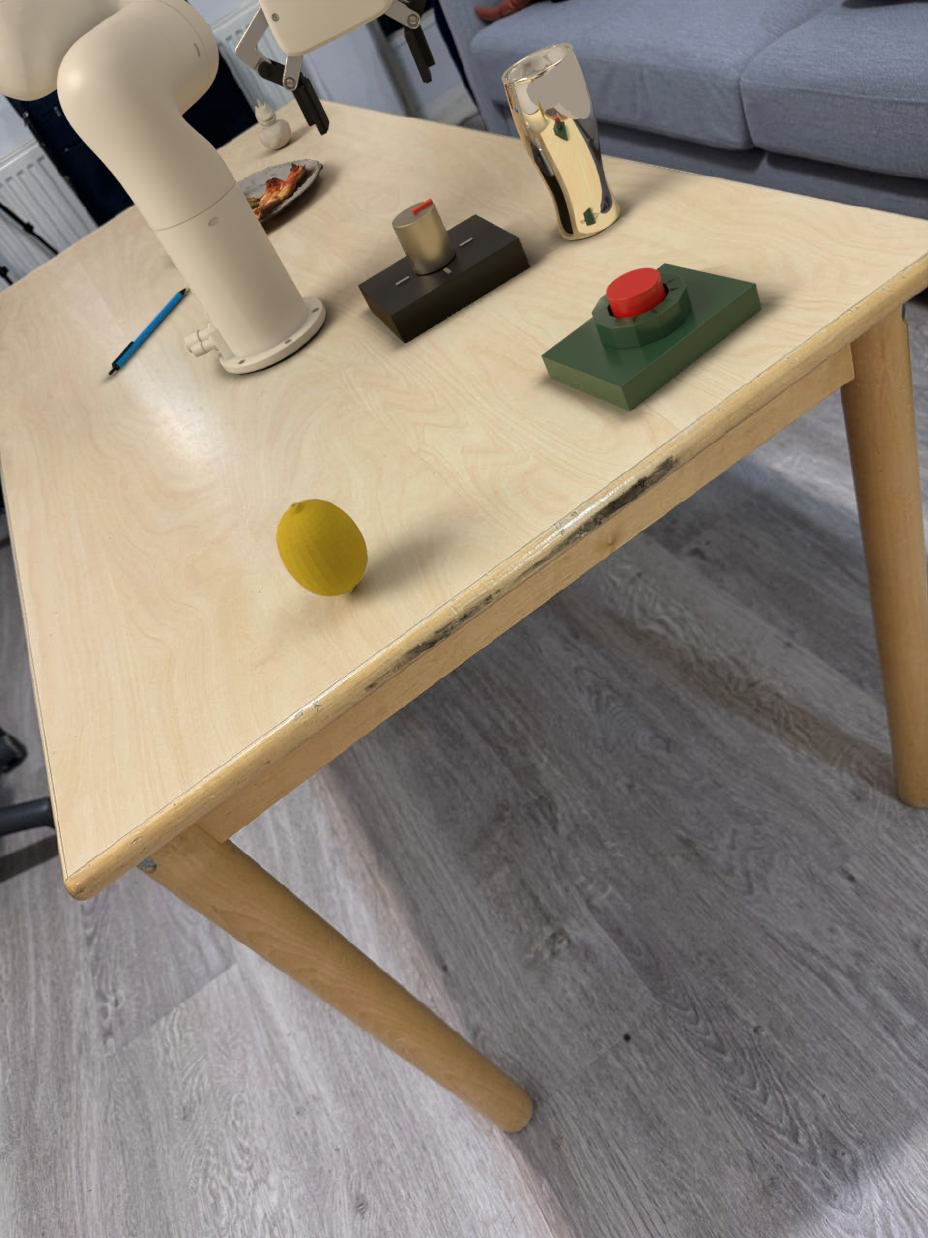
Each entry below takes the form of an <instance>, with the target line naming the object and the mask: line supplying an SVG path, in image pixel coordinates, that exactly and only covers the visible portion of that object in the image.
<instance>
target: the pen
mask: <svg viewBox="0 0 928 1238" xmlns="http://www.w3.org/2000/svg"><path fill="white" fill-rule="evenodd" d="M186 291H187V287H185V288H183V289H181V290H179V291H178V292H176V293H175V294H174V296H172V298H171V299H170V300H169V301H168V302H167V304H165V306H163V307H162V309H161V310H160V311H159V312H158V314H157V315H156V316H154V317H153V319H152V320H151V321H150V323H148V325H147V326H146V327H145V328H144V329H143V330H142V331H141V333H139V335H138V336H137V337H136V338H135V339H134V340H132V341H130V342H128V344H127V345H126V347H125V348H124V349H123V350H122V351H121V352H120V353H119V355H117V357H116V358H115V359H114V360H113V361H112V363H111V370H110V371H109V372H108V373H107V374H108V375H109V376H113V374H114V373H115V372H117V371H118V372H119V371H120V369H121V368H122V367H123V366H124V365H125V364H126V363H127V362H128V360H129V359H131V357H132V356H133V355H134V353H135V352H136V351H137V350H138V349H139V348H140V347H141V346H142V345H143V343H144V342H145V341H146V340H147V339H148V338H149V336H150V335H151V334H152V333H153V332H154V331H155V330H156V329H157V328H158V326H159V325H160V324H161V323H162V321H163V320H165V318H166V317H167V316H168V315H169V314H170V312H171V311H173V309H174V308H175V307H176V306H177V305H178V304H179V302H181V300H182V299H183V298H184V296H185V293H186Z"/></svg>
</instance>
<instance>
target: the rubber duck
mask: <svg viewBox="0 0 928 1238" xmlns="http://www.w3.org/2000/svg"><path fill="white" fill-rule="evenodd" d="M256 100H257V104H258V106H257V105H255V106H254V109H255V110H254V111H255V118H256V120H257V122H258V124H259V125H260V126H262V128H261V130H260V131H259V132H258V135H257V136H258V140H259V142H260V143H261V144H262V146H264V147H265V148H267V149H271V150H279V149H282V148H284V147H285V146H286V145H287V144H288V143H289V142H290V140H291V135H292V128H291V126H290V124H289V122H288V121H287V120H285V119H283V118H281V119H277V114H276V112H275V110H274V108H273V107H272V106H271V105H269V104H268V103H267V102H266V101H265V100H263V101H260V99H259V98H256ZM262 102H263V103H262Z"/></svg>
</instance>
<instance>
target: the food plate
mask: <svg viewBox="0 0 928 1238" xmlns="http://www.w3.org/2000/svg"><path fill="white" fill-rule="evenodd" d="M323 169H324V164H322V163H321V162H320V161H318V160H313V159H311V158H303V159H301V160H300V159H298V160H293V161H287V162H284V163H279V164H275V165H272V166H267V167H266V168H263V169H261V170H257V171H256V172H253V173H251V174H249V175H248V176H245V177H243V178H242V179H240V180H238V181H236V182H237V183H238V185H239V187H240V189H241V190H242V192H243V194H244V196H245V198H246V199H247V201H248V203H249V205H250V206H251V208H252V210H253V212H254V213H255V215H256V217H257V219H258V221H259V222H260V224H261V225H263V224H264V223H266V222H267V221H268V220H270V219H271V218H274V217H276V216H277V215H280V213H282V212H283V211H284V210H285V209H286V208H287V207H289V206H290V205H291V204H292V203H293V202H294V201H295V200H297V199H298V198H299V197H300V196H301V195H303V194H304V193H305V192H307V191H308V190H311V187H312V186H313V185H314V184H315V182H317V180H318V178H319V176H320V173H321V171H322V170H323Z"/></svg>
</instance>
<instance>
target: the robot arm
mask: <svg viewBox="0 0 928 1238" xmlns="http://www.w3.org/2000/svg"><path fill="white" fill-rule="evenodd" d="M427 1H428V0H258V3H259V7H258V9H257V11H256V13H255V14H254V16H253V18H252V19H251V21H250V23H248V26H247V27H246V29H245V30H244V33H243V34H242V36H241V37H240V39H239V41H238V43H237V45H236V47H235V48H234V54H235V56H236V58H238V59H239V60H240V61H241V62H242V63H244V65H246V66H247V67H248V68H250V69H251V70H252V71H254V72H256V73H257V74H258V76H259V77H260V78H262V79H263V80H266V81H268V82H271V83H273V84H274V85H275V84H276V85H278V86H281V87H283V88H284V89H285V90H286V91H288V92H291V93H292V94H293V97H294V99H295V102H296V103H297V106H298V107H299V109H300V111H301V113H302V115H303V117H304V119H305V121H306V123H307V125H308V126H309V127H310V128H311V127H312V126H314V125H315V127H316V129H317V131H318V133H319V135H320V136H321V137H322V136H325V135H327V133H328V131H329V130H330V129H329V127H330V119H329V117H328V115H327V112H326V111H325V108H324V106H323V105H322V102H321V100H320V98H319V96H318V94H317V92H316V90H315V88H314V86H313V83H312V82H311V79H310V78H309V77H308V78H307V75H304V73H303V72H302V71H301V70H302V65H303V59H304V56H305V55H308V54H310V53H313V52H314V51H316V50H318V49H320V48H322V47H324V46H326V45H328V44H330V43H332V42H334V41H336V40H338V39H340V38H342V37H343V36H346V35H348V34H350V33H351V32H353V31H355V30H357V29H359V28H361V27H363V26H365V25H367V24H369V23H370V22H372V21H374V20H376V19H378V18H379V17H381V16H383V15H385V16H387V17H389V18H390V19H392V20H394V21H396V22H398V23H400V24H401V25H402V26H403V34H404V35H403V36H404V39H405V42H406V44H407V47H408V49H409V51H410V54H411V56H412V59H413V61H414V63H415V66H416V68H417V70H418V73H419V76H420V78H421V80H422V82H423V84H426V85H427V84H430V83H431V82H433V77H432V72H431V67H433V66H436V61H435V57H434V55H433V53H432V50H431V48H430V45H429V41H428V40H427V38H426V35H425V32H424V30H423V28H422V25H421V20H422V17H423V14H424V10H425V7H426V5H427ZM268 28H269V29H270V31H271V33H272V35H273V37H274V39H275V41H276V43H277V44H278V46H279V48H280V50H281V51H282V52H283V53H284V54H285V55H286V60H285V64H283V63H281V62H278V61H276V60H274V59H271V58H269V57H267V56H266V55H264V53H262V52H261V51H260V50H259V47H258V44H259V42H260V41H261V39H262V37H263V36H264V34H265V32H266V31H267V29H268ZM219 62H220V54H219V47H218V44H217V40H216V38H215V35H214V33H213V31H212V29H211V27H210V25H209V24H208V22H207V21H206V20H205V18H204V17H203V16H202V15H201V14H200V13H199V11H198V10H197V9H195V7H194V6H192V5H191V4H190V3H188V1H186V0H0V95H3V96H4V97H8V98H10V99H15V100H18V101H25V102H31V101H36V100H39V99H41V98H44V97H46V96H49V95H50V94H51V93H53V92H55V91H56V90H57V91H56V92H57V97H58V101H59V104H60V107H61V110H62V112H63V114H64V116H65V118H66V120H67V121H68V123H69V125H70V126H71V128H72V129H73V131H75V133H76V134H77V135H78V136H79V138H80V139H81V140H82V142H84V144H86V146H87V147H88V148H89V149H90V150H91V151H92V152H93V153H94V154H95V155H96V157H98V158H99V160H101V162H102V163H103V164H104V165H105V167H106V168H107V169H108V171H110V172H111V174H112V175H113V176H114V177H115V179H116V180H117V181H118V183H119V184H120V185H121V187H122V188H123V189H124V191H125V192H126V194H127V195H128V196H129V198H130V199H131V200H132V202H133V204H134V205H135V207H136V208H137V210H138V212H140V214H141V217H143V219H144V220H145V222H146V224H147V225H148V226H149V228H150V229H151V230H152V232H153V233H154V235H155V237H156V238H157V240H158V241H159V243H160V244H161V246H162V248H163V250H165V252H166V254H167V255H168V257H169V258H170V260H171V261H172V263H173V265H174V266H175V267H176V270H177V271H178V273H179V274H180V275H181V277H182V278H183V280H184V282H185V283H186V285H187V287H188V288H189V290H190V291H191V292H192V294H193V296H194V298H196V299H195V300H197V302H198V303H199V305H200V306H201V308H202V310H203V311H204V313H205V314H206V316H207V317H208V319H209V322H207V327H204V328H202V329H197V330H195V331H193V332H190V333H188V334H186V335H184V336H183V343H184V345H185V348H186V349H187V350H188V352H189V353H191V354H193V356H194V357H195V358H200V357H202V356H204V355H206V354H208V353H209V352H211V351H216V352H219V353H218V354H219V355H218V360H219V363H220V364H221V366H222V367H223V369H224V370H225V371H226V372H227V373H230V374H235V375H242V374H249V373H254V372H256V371H260V370H263V369H266V368H267V367H270V366H272V365H274V364H277V363H279V362H280V361H282V360H284V359H285V358H287V357H289V356H290V355H292V354H294V353H295V352H297V351H298V350H300V348H302V347H303V346H304V345H306V344H307V343H308V342H309V341H310V340H311V339H312V338H313V337H314V336H315V335H316V334H317V333H318V331H319V330H320V329H321V328H322V326H323V324H324V322H325V320H326V316H327V311H326V308H325V306H324V304H323V302H322V301H321V299H319V298H316V297H313V296H302V295H301V293H300V291H299V290H298V288H297V286H296V284H295V282H294V280H293V279H292V277H291V276H290V275H291V274H290V273H289V272H288V269H287V268H286V267H285V265H284V262H283V261H282V260H281V259H282V258H280V256H279V254H278V252H277V251H276V248H275V247H274V245H273V244H272V241H271V240H270V238H269V236H268V234H267V233H266V230H265V229H264V227H263V226H262V224H260V222H259V221H258V219H257V217H256V215H255V213H254V212H253V210H252V208H251V206H250V205H249V203H248V201H247V199H246V198H245V196H244V194H243V192H242V190H241V189H240V187H239V185H238V183H237V182H238V181H237V180H236V178H235V177H234V175H233V173H232V172H231V170H230V168H229V166H228V165H227V163H226V161H225V160H224V158H223V156H222V155H221V154H220V153H219V151H217V149H216V147H214V145H212V143H210V142H209V140H208V139H206V138H205V137H204V136H203V135H202V134H201V133H199V132H198V130H196V129H195V128H194V127H193V126H192V125H191V124H190V123H188V121H186V119H185V118H184V116H183V115H184V114H185V113H186V112H187V111H188V110H189V109H191V108H192V106H193V105H195V104H196V103H197V102H198V101H199V100H200V99H201V98H202V97H203V96H204V95H205V94H206V92H207V91H208V90H209V89H210V87H211V86H212V85H213V82H214V81H215V79H216V76H217V73H218V70H219V64H220V63H219Z"/></svg>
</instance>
